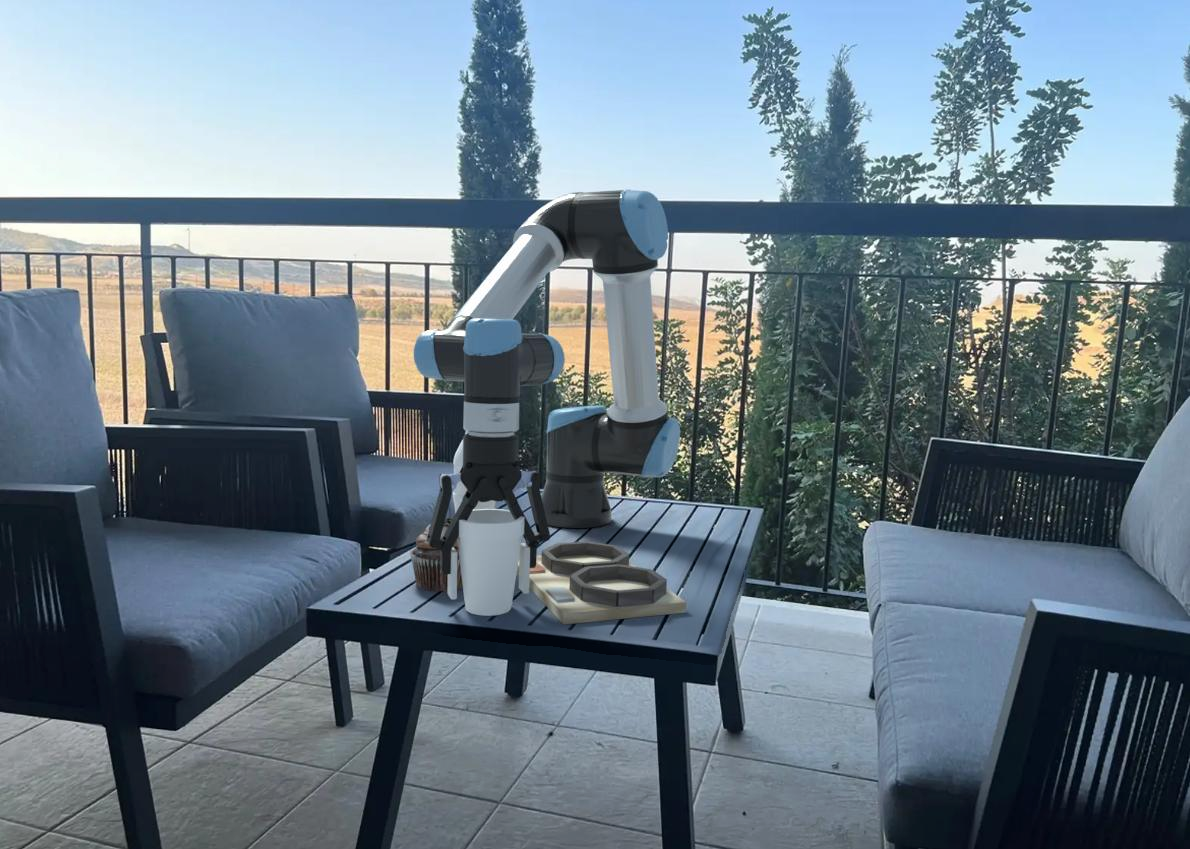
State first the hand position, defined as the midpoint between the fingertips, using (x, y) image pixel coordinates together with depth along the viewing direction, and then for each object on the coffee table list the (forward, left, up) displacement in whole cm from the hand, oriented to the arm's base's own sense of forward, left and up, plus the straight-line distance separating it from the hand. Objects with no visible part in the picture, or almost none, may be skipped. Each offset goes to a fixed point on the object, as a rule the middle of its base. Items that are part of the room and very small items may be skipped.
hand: (488, 593), depth 118 cm
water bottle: (-23, +3, -2) cm, 23 cm away
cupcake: (-13, -4, -2) cm, 14 cm away
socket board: (-5, +17, -2) cm, 18 cm away
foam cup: (0, 0, -2) cm, 2 cm away
